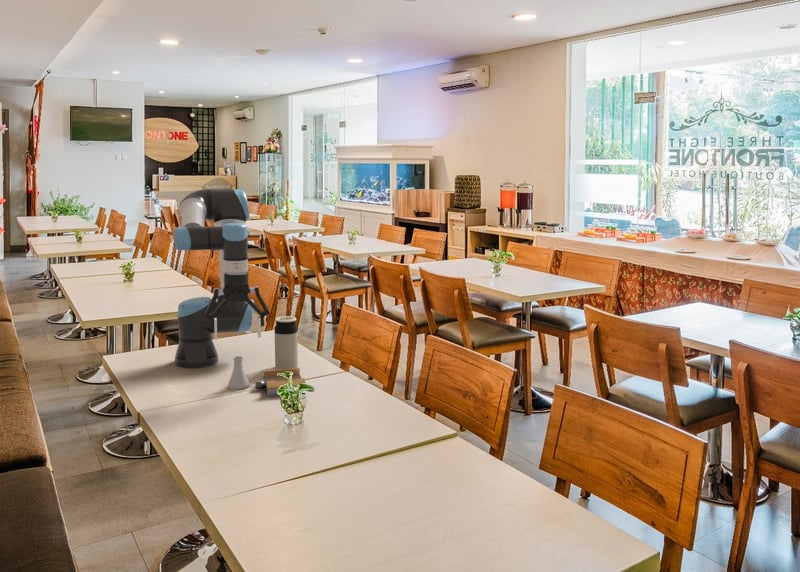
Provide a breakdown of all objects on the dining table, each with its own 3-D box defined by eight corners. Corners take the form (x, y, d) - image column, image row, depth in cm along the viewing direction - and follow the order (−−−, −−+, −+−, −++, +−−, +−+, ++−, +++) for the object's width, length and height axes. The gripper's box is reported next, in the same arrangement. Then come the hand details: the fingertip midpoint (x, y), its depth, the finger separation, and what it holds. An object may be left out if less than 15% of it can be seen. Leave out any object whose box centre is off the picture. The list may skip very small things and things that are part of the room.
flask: (253, 383, 229) (252, 354, 227) (246, 390, 222) (245, 361, 220) (232, 382, 230) (231, 353, 228) (224, 389, 223) (223, 360, 221)
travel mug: (302, 366, 248) (301, 317, 245) (287, 372, 241) (286, 322, 238) (285, 362, 252) (284, 314, 249) (270, 368, 246) (269, 319, 242)
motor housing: (253, 383, 229) (253, 370, 228) (299, 379, 234) (298, 367, 233) (257, 397, 216) (257, 383, 215) (305, 393, 220) (305, 380, 220)
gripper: (194, 276, 210) (197, 343, 215) (277, 273, 218) (278, 338, 222) (194, 271, 218) (197, 336, 222) (274, 269, 225) (275, 332, 229)
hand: (237, 337), depth 222 cm, fingers open, 13 cm apart
